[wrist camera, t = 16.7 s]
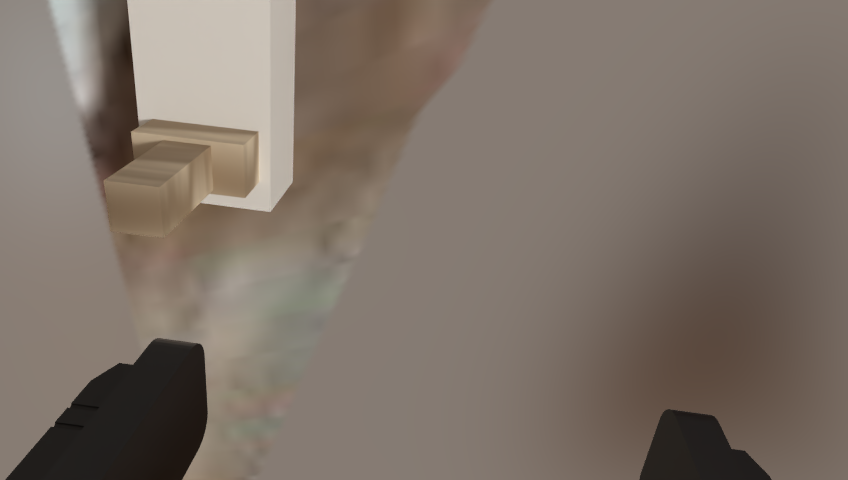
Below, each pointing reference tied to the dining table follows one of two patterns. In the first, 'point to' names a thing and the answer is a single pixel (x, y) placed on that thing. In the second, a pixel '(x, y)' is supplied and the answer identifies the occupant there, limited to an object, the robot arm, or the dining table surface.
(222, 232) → the dining table surface
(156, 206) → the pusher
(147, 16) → the sweep board
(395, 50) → the dining table surface
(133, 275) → the dining table surface
